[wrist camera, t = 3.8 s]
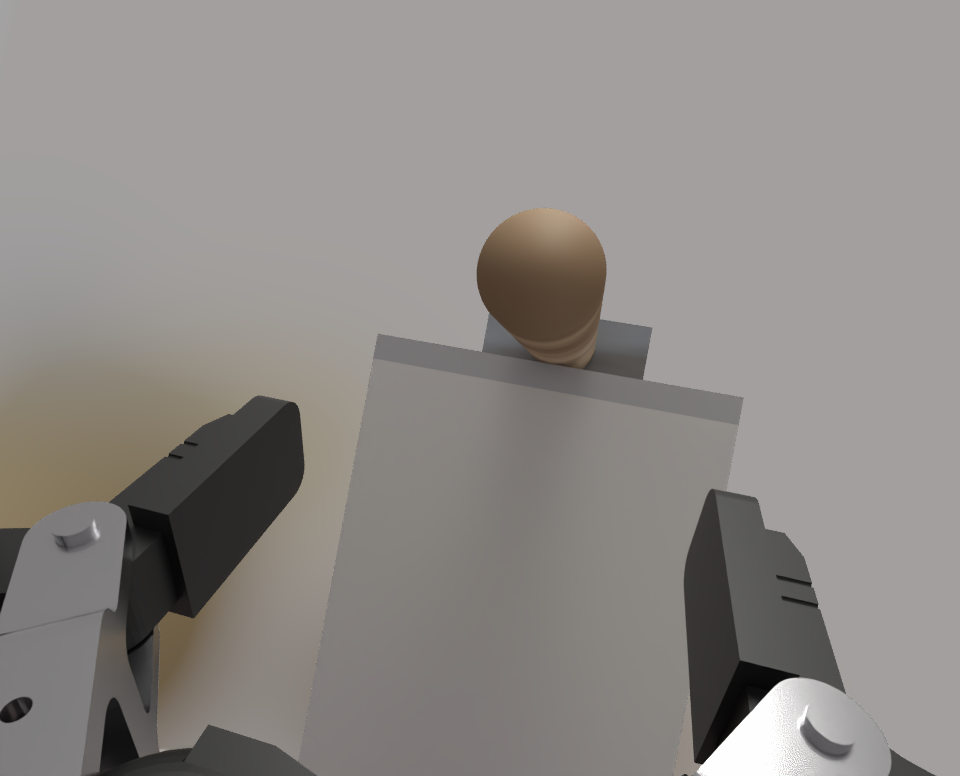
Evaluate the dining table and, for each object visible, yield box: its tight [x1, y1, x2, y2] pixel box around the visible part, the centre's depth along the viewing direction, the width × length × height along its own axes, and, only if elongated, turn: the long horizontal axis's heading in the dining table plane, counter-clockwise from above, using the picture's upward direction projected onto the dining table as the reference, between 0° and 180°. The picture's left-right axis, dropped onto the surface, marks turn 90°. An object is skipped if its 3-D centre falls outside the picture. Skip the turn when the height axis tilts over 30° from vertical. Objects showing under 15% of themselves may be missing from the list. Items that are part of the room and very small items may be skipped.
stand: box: [298, 334, 743, 776], centre depth 29 cm, size 14×12×32 cm
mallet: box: [477, 208, 652, 380], centre depth 24 cm, size 21×8×3 cm, turn 170°
